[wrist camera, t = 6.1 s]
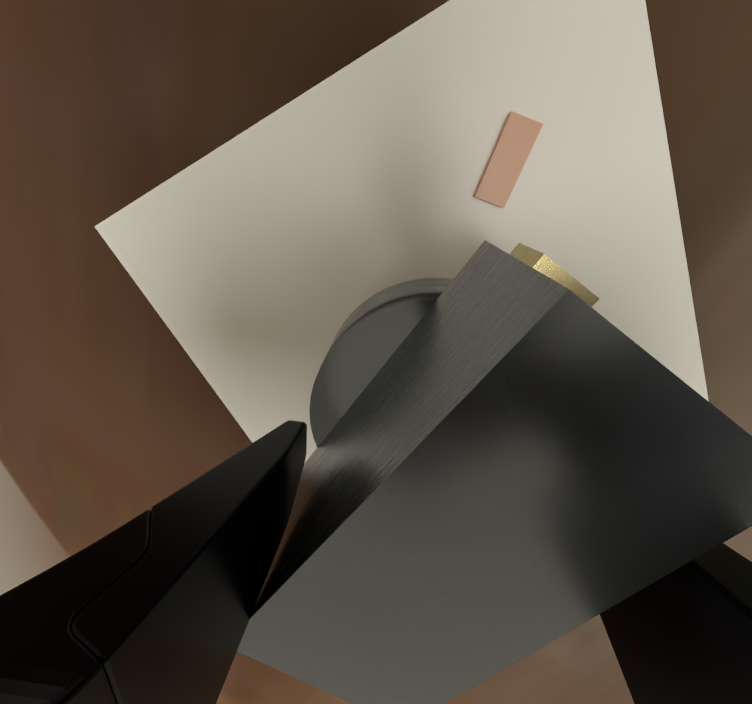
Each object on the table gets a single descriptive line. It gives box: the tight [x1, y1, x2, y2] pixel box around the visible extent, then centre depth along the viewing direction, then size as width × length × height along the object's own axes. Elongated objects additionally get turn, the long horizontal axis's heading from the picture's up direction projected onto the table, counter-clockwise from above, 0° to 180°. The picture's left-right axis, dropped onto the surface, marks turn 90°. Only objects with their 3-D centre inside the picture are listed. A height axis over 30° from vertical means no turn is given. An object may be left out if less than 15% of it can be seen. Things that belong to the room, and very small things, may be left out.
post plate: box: [95, 0, 709, 462], centre depth 13 cm, size 18×18×4 cm
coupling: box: [237, 240, 752, 704], centre depth 8 cm, size 8×6×6 cm
